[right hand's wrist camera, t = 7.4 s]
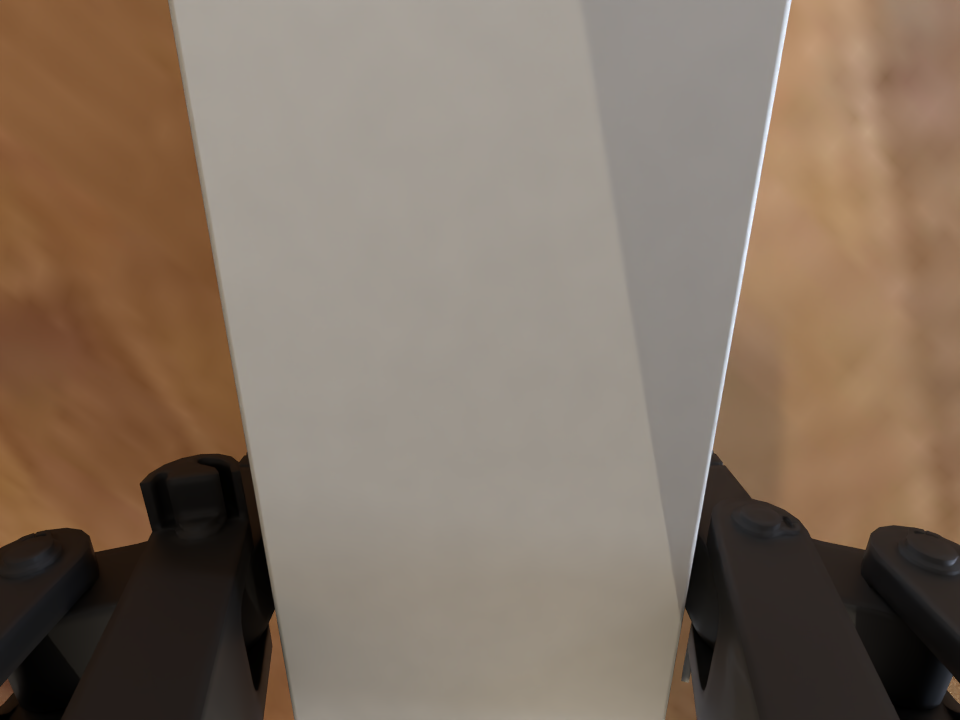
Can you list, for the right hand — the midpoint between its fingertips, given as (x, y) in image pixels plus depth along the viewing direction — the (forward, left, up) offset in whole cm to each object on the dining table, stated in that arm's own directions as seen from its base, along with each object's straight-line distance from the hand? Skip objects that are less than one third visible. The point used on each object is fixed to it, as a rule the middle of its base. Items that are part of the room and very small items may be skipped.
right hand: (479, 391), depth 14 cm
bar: (-2, -22, -1) cm, 22 cm away
